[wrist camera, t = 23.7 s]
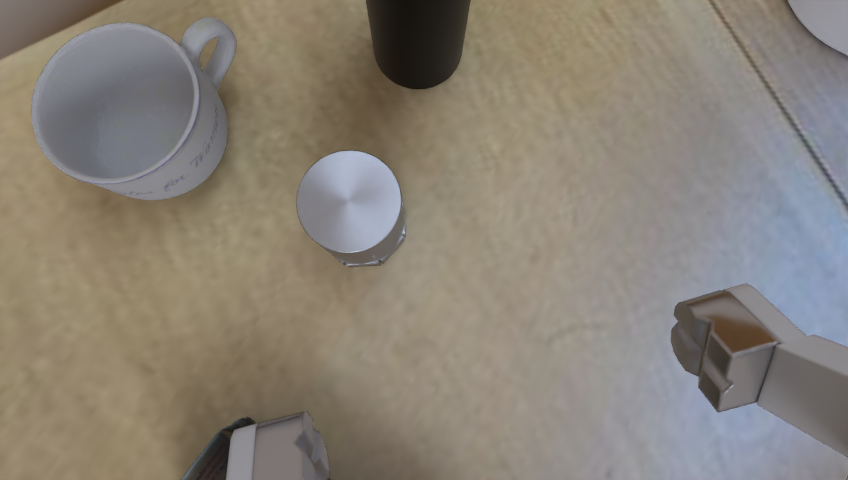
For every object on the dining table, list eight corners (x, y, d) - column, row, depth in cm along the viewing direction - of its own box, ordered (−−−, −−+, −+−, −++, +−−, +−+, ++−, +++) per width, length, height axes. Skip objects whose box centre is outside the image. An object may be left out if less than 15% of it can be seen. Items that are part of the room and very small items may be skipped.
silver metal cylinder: (402, 180, 40) (398, 146, 33) (407, 263, 40) (404, 249, 32) (318, 185, 40) (294, 152, 32) (321, 268, 39) (297, 256, 31)
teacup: (145, 237, 40) (77, 217, 32) (74, 123, 41) (-8, 76, 33) (303, 137, 41) (275, 93, 33) (229, 29, 42) (186, -38, 34)
